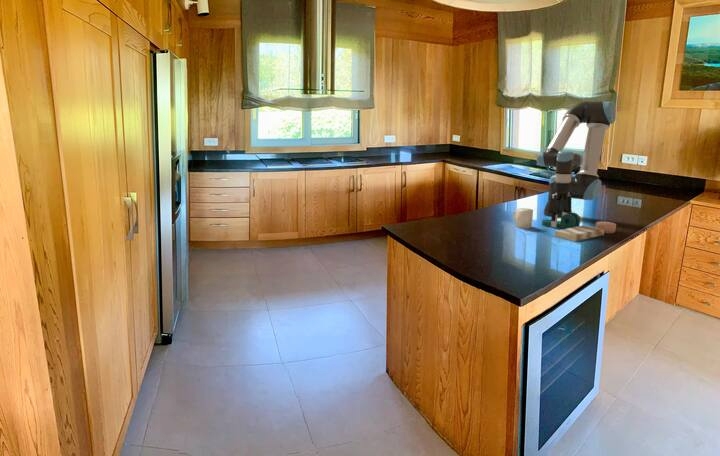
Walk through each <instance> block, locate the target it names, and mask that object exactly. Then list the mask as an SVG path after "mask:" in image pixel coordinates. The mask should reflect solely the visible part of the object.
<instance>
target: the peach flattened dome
mask: <svg viewBox="0 0 720 456" xmlns="http://www.w3.org/2000/svg"><path fill="white" fill-rule="evenodd" d="M616 227H617V224H616V223H615V222H611V221H596V222H595V228H599V229H603V230H604V234H615V233H616Z"/></svg>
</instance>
